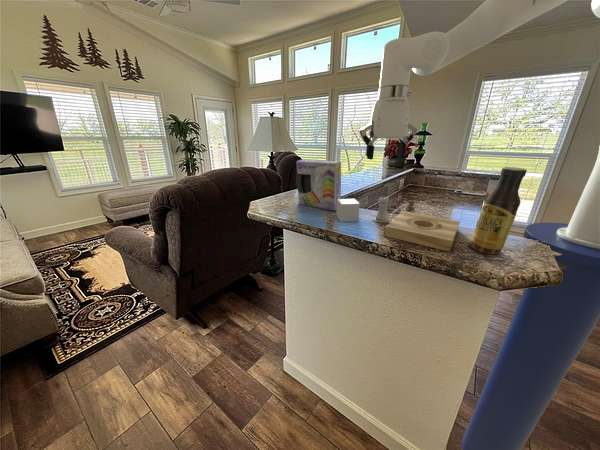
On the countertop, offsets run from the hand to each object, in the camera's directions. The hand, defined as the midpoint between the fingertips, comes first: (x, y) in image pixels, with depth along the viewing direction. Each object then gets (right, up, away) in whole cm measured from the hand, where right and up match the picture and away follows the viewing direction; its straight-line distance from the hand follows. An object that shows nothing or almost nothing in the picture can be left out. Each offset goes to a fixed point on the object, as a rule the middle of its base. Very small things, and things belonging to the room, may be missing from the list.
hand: (385, 158), depth 72 cm
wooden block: (+9, -23, -4) cm, 25 cm away
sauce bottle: (+20, -27, -14) cm, 36 cm away
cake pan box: (-19, -13, +22) cm, 32 cm away
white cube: (-10, -18, +9) cm, 22 cm away
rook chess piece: (+1, -19, +5) cm, 20 cm away
